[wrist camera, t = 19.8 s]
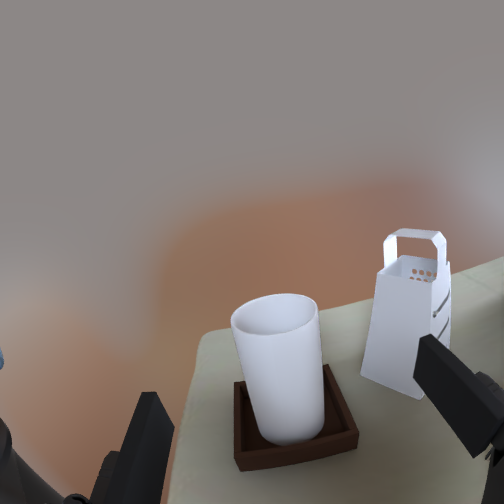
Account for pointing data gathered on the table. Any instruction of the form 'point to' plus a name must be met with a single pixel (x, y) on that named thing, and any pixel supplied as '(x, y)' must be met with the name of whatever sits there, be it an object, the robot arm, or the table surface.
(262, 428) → the cup
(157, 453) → the robot arm
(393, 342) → the grater
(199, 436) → the table surface
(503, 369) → the table surface
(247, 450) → the tray
